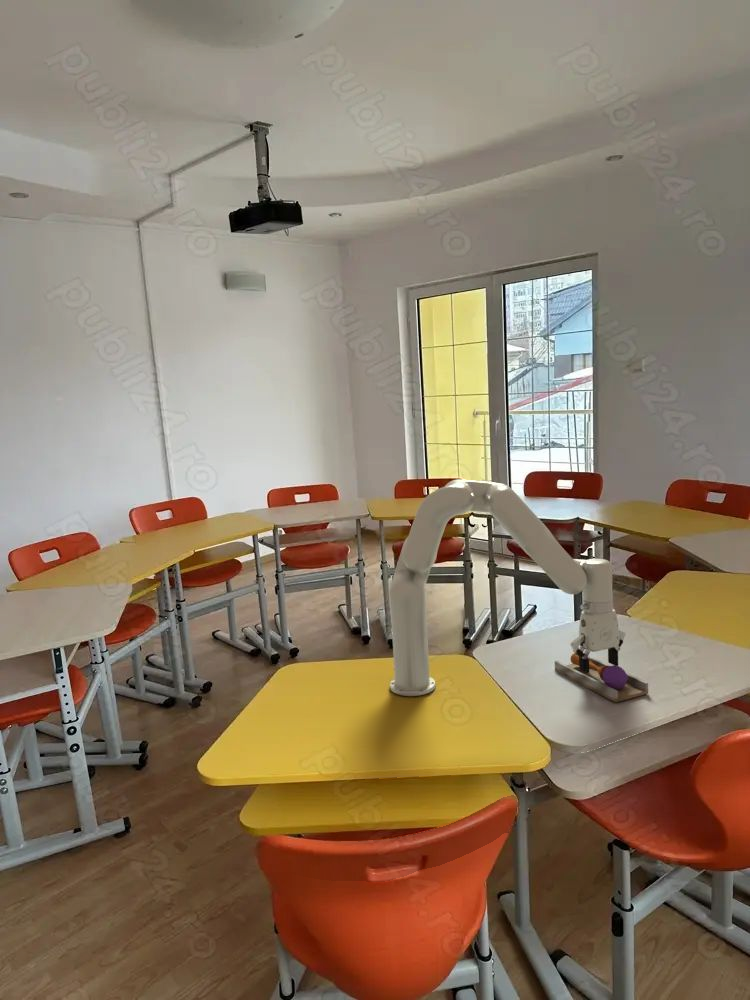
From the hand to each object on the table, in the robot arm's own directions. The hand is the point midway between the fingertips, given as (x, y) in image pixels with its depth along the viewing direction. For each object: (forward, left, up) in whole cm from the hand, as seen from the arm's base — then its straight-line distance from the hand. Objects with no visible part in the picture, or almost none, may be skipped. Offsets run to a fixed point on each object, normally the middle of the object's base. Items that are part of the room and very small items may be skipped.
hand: (598, 667), depth 179 cm
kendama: (0, 0, -3) cm, 3 cm away
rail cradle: (0, 0, -4) cm, 4 cm away
